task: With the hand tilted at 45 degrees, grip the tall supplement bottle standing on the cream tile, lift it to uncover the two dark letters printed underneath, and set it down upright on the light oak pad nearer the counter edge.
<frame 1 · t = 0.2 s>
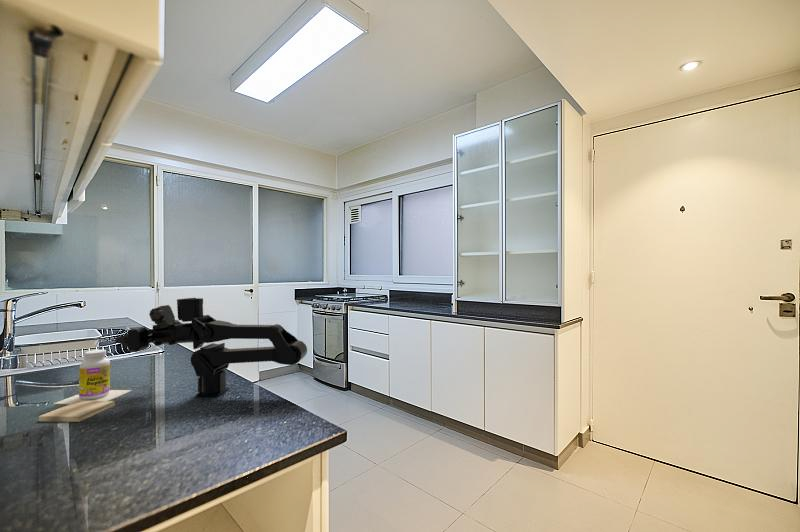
hand: (128, 336, 104), 17 cm above the counter, tool horizontal, fingers open, 9 cm apart
supplement bottle: (94, 397, 100), resting on code tile
oak pad: (78, 413, 89), on the counter
code tile: (94, 397, 100), on the counter
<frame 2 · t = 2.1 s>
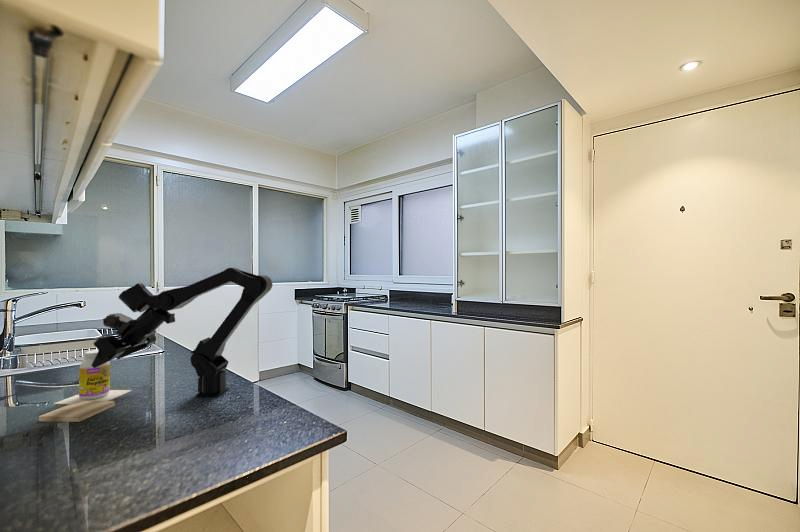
hand: (105, 362, 100), 10 cm above the counter, tool tilted 45°, fingers open, 9 cm apart
nothing on the counter moved.
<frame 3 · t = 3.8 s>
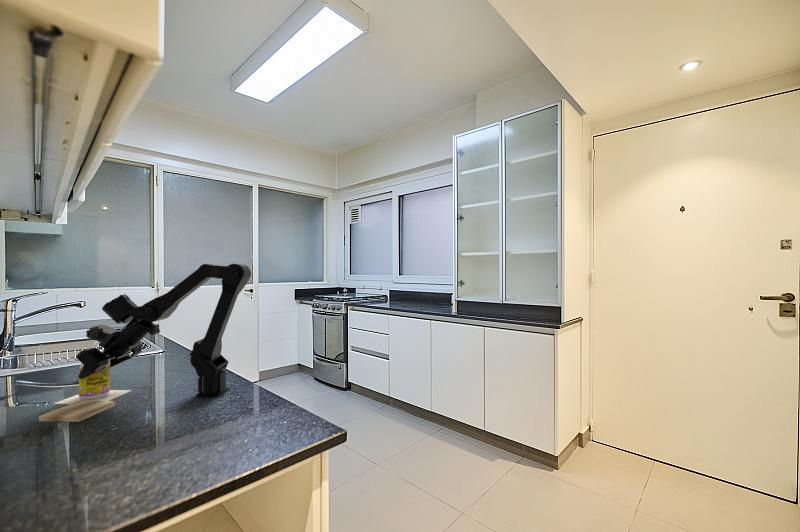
hand: (89, 374, 100), 7 cm above the counter, tool tilted 45°, fingers closed on supplement bottle, 7 cm apart
supplement bottle: (94, 397, 100), resting on code tile, touching gripper
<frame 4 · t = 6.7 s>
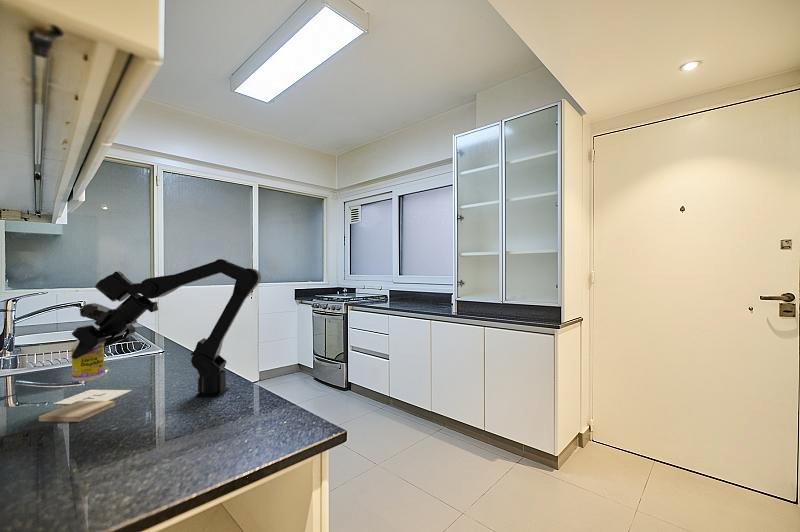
hand: (82, 354, 96), 13 cm above the counter, tool tilted 45°, fingers closed on supplement bottle, 7 cm apart
supplement bottle: (88, 378, 96), point 7 cm above the counter, touching gripper
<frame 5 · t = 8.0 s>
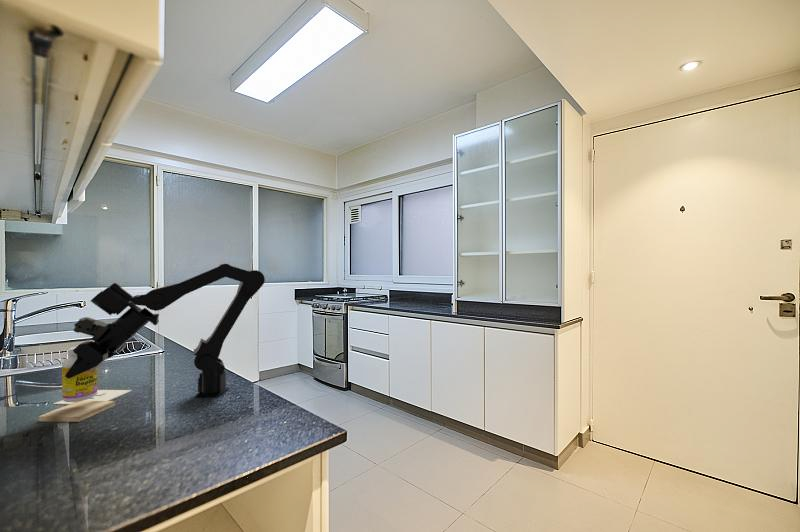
hand: (73, 373, 88), 10 cm above the counter, tool tilted 45°, fingers closed on supplement bottle, 7 cm apart
supplement bottle: (80, 398, 89), point 4 cm above the counter, touching gripper
when the fingers open (9 cm above the counter, at t = 9.2 s): supplement bottle drops 1 cm, resting on oak pad.
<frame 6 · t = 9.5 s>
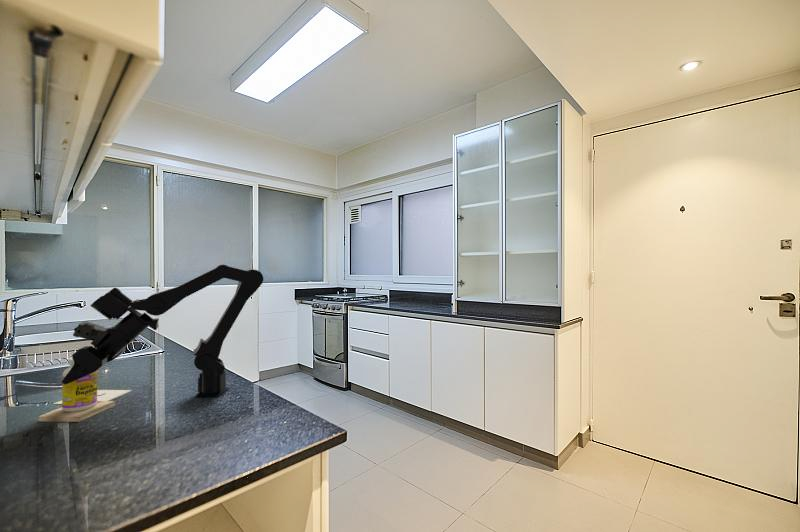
hand: (72, 378, 88), 9 cm above the counter, tool tilted 45°, fingers open, 9 cm apart
supplement bottle: (80, 408, 89), point 1 cm above the counter, touching oak pad
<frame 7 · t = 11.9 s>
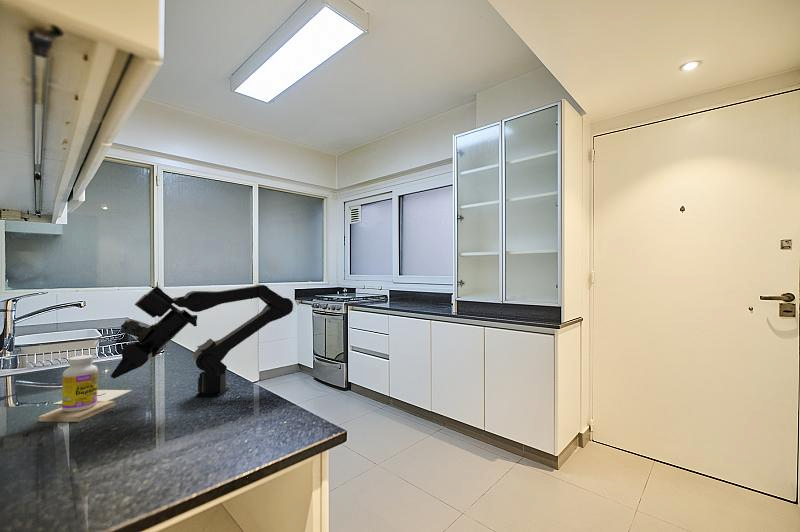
hand: (119, 372, 92), 9 cm above the counter, tool tilted 45°, fingers open, 9 cm apart
nothing on the counter moved.
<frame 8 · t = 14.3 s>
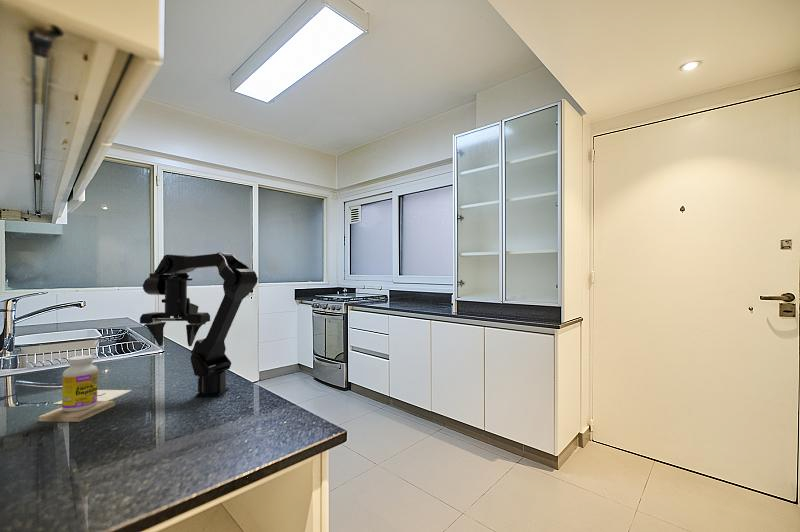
hand: (175, 345, 108), 13 cm above the counter, tool pointing down, fingers open, 9 cm apart
nothing on the counter moved.
at the end: supplement bottle 0.4 cm off-centre on the oak pad, point 1.0 cm above the oak pad's base; supplement bottle tilted 0°; the gripper is holding nothing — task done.
